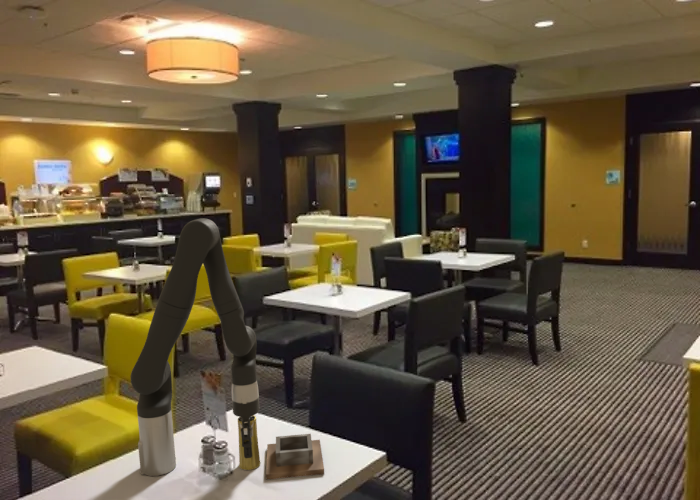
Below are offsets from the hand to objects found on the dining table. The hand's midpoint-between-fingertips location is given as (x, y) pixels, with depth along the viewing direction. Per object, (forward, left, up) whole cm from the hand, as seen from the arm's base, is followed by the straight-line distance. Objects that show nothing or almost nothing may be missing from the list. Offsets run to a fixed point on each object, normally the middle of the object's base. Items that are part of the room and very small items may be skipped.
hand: (248, 452), depth 169 cm
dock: (+13, 0, -4) cm, 14 cm away
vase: (0, 0, -4) cm, 4 cm away
